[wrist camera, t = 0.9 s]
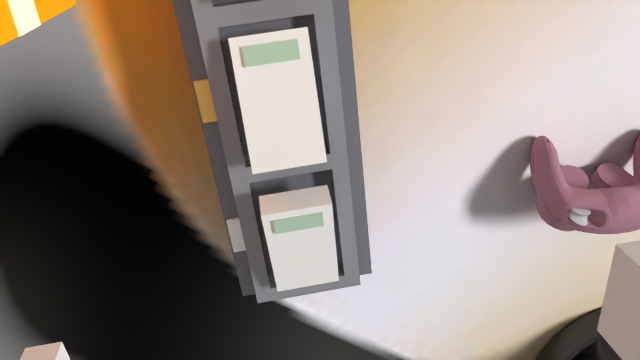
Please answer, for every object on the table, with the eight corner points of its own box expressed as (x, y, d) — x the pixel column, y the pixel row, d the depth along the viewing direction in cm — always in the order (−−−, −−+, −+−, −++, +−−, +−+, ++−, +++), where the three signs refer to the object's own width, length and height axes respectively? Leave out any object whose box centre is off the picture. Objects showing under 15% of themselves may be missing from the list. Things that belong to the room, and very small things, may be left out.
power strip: (359, 241, 40) (374, 282, 35) (242, 261, 39) (243, 305, 35) (317, -210, 27) (332, -234, 22) (139, -189, 26) (119, -210, 22)
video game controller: (509, 169, 40) (543, 248, 36) (532, 130, 37) (572, 213, 33) (626, 161, 42) (672, 237, 37) (659, 122, 38) (714, 201, 34)
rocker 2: (334, 261, 35) (339, 282, 33) (275, 272, 34) (277, 293, 33) (327, 184, 30) (332, 205, 29) (258, 196, 30) (261, 217, 29)
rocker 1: (323, 156, 29) (327, 162, 28) (253, 168, 29) (252, 175, 27) (305, 28, 28) (307, 26, 26) (229, 39, 27) (227, 38, 26)
